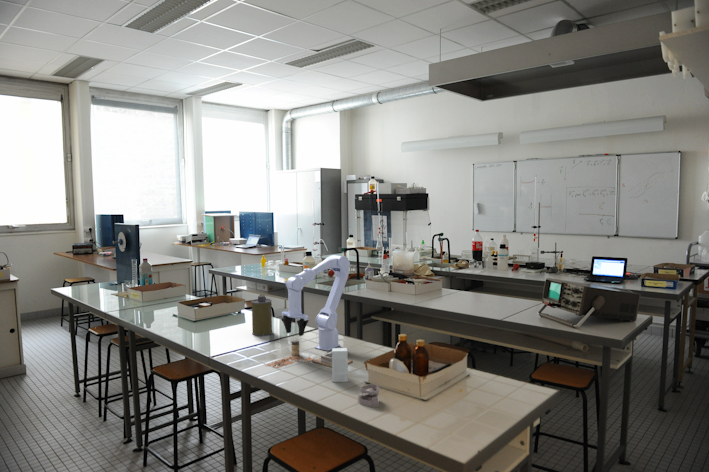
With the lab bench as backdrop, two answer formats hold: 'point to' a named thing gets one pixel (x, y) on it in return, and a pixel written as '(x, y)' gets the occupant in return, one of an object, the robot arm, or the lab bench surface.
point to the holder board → (326, 360)
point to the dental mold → (369, 395)
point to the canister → (261, 316)
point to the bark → (287, 361)
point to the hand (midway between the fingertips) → (294, 334)
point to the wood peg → (295, 348)
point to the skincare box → (339, 365)
